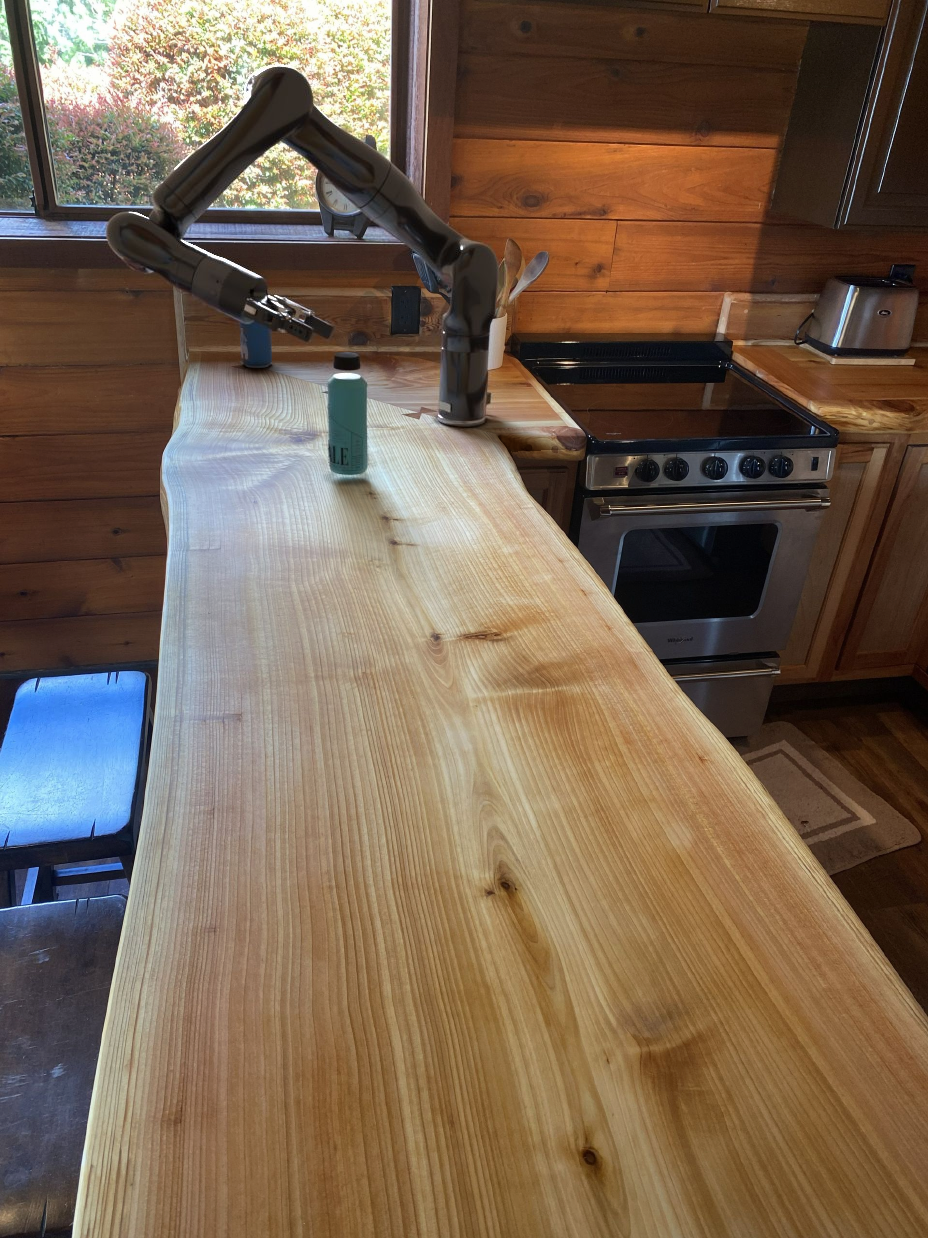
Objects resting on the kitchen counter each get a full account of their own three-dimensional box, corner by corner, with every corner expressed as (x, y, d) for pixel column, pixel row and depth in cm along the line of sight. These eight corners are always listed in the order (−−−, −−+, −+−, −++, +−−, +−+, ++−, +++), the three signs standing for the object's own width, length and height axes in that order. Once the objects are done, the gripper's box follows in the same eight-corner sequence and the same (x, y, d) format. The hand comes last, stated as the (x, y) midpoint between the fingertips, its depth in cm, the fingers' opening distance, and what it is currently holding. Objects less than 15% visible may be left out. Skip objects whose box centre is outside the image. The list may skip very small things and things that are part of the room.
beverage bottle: (371, 472, 150) (372, 350, 140) (364, 486, 144) (363, 359, 135) (333, 469, 150) (331, 347, 141) (324, 482, 145) (321, 356, 135)
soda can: (277, 363, 213) (274, 310, 207) (264, 369, 207) (261, 315, 201) (249, 360, 214) (246, 307, 208) (236, 366, 208) (233, 312, 202)
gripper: (215, 264, 132) (313, 312, 131) (256, 265, 145) (346, 309, 144) (201, 313, 135) (296, 360, 134) (242, 310, 148) (330, 353, 147)
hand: (322, 334), depth 139 cm, fingers open, 8 cm apart
